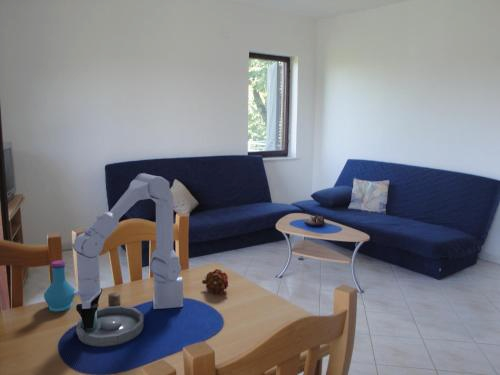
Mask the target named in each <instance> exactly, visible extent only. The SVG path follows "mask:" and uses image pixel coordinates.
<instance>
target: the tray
mask: <svg viewBox="0 0 500 375" xmlns="http://www.w3.org/2000/svg"><path fill="white" fill-rule="evenodd" d="M143 329H144V313H143V312H142V311H140V310H139V309H137V308H135V307H131V306H125V305H120V306H112V307H109V306H105V307H102V308H97V329H95V330H93V331H85V330H84V325H83V321H82V318H81V317H80V318H79V319H78V321H77V324H76V329H75V330H76V335H77V337H78V340H79V341H80V342H81V343H82V344H85V345H88V346H92V347H98V348H99V347H100V348H101V347H103V348H104V347H106V348H107V347H113V346H119V345H121V344H122V345H123V344H126V343H128V342H130V341H132V340H133V339H135V338H137V337H138V336H140V334H141V333H142V331H143Z"/></svg>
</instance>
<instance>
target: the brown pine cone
mask: <svg viewBox="0 0 500 375" xmlns="http://www.w3.org/2000/svg"><path fill="white" fill-rule="evenodd" d="M228 278H229V277H228V275H227V273H226V272H223V271H222V270H221V269H217V268H216V269H214V270H213V271H209V272H208V273H206V275H205V276H204V279H202V280H201V281H202V282H201V284H202V285H205V288H206V290H208V291H209V292H212V293H214V294H221V293H223V292H224V291H225V290H226V289H227V288H228V287H229V281H228V280H229V279H228Z"/></svg>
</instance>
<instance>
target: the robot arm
mask: <svg viewBox="0 0 500 375" xmlns="http://www.w3.org/2000/svg"><path fill="white" fill-rule="evenodd" d="M149 199H150V200H152V201H153V202H154V203H155V250H154V251H153V252H152V253H151V259H150V262H149V271H150V272H151V273H153V275H152V276H153V287H154V288H153V290H154V291H153V298H152V307H153V310H160V309H172V308H182V307H183V306H184V283H183V282H184V281H183V276H180V274H181V272H182V266H181V264H180V260H179V259H180V258H179V255H178V254H177V253H176V251H175V250H174V195H173V193H172V191H171V188H170V181H168V180H167V179H165V178H164V177H162V176H160V175H159V176H157V175H152V174H147V173H146V172H143V173H139V174H138V175H137V176H136V177H135V178H134V179H133V180H132V181H130V184H129V186H128V188H127V189H126V190H125V192H124V193H123V194H122V196H121V197H120V198H119V199H118V201H117V202H116V203H115V204H114V206H113V207H112V208H111V209H110V211H107V212H102V213H101V214H98V215H97V216H96V217H95V218H96V219H95V221H94V222H93V223H91V225H90V226H89V227H88V228H86V229H85V230H84V232H82V233H80V234H78V235H77V236H76V237H75V239H74V242H73V243H72V244H71V245H72V246H71V247H72V249H73V250H74V251H75V252H76V265H77V266H76V268H77V286H78V289H75V291H74V295H75V296H78V298H79V299H80V301H81V303H78V304H76V306H75V310H76V311H77V313H78V314H79V316H80V318H82V321H83V325H84V327H85V329H86V328H93V325H94V318H95V313H96V310H97V309H99V306H100V304H99V300H100V297H101V295H102V293H103V289H102V288H101V274H100V273H101V272H100V270H101V269H100V253H102V252H103V248H104V244H105V243H106V240H108V238H109V237H110V236H111V235H112V234H113V233H114V232H115V230H116V229H117V228H119V225H120V224H119V223H120V222H119V221H120V219H121V218H122V217H123V215H125V214H126V213H127V212H128V211H129V210H130V209H131V207H133V206H134V205H135V204H136V203H137V202H138V201H141V200H142V201H143V200H149Z"/></svg>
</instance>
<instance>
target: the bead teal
mask: <svg viewBox="0 0 500 375" xmlns="http://www.w3.org/2000/svg"><path fill="white" fill-rule="evenodd" d="M95 329H97V310H96V313H95V318H94V325H93V328H86V329H85V327H84V330H85V331H93V330H95Z"/></svg>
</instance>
